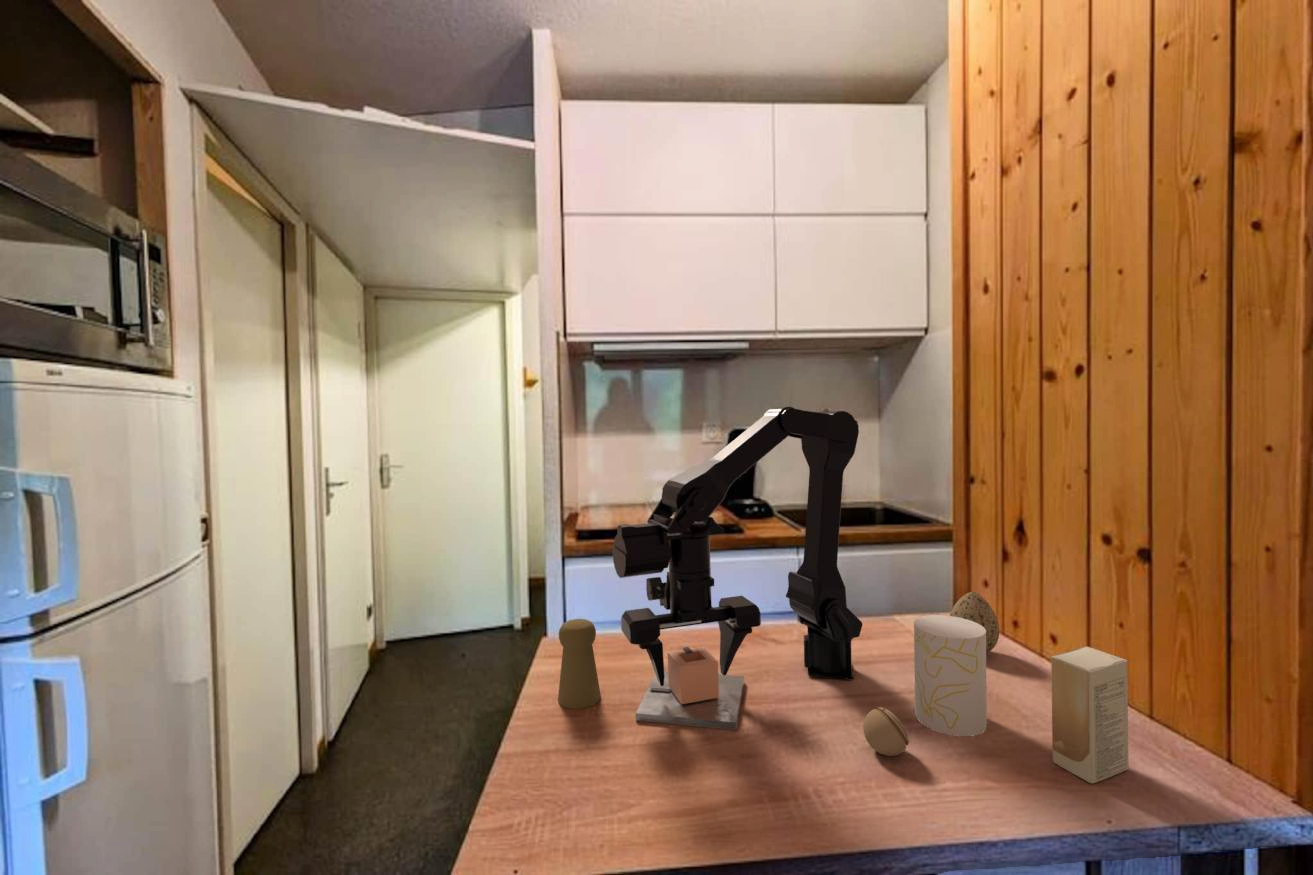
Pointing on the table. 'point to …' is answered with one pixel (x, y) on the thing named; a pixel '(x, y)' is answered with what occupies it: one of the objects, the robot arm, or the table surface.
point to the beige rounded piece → (885, 732)
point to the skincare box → (1090, 713)
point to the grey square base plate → (693, 705)
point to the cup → (950, 674)
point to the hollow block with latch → (693, 675)
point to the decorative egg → (978, 616)
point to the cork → (578, 665)
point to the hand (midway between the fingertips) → (692, 679)
